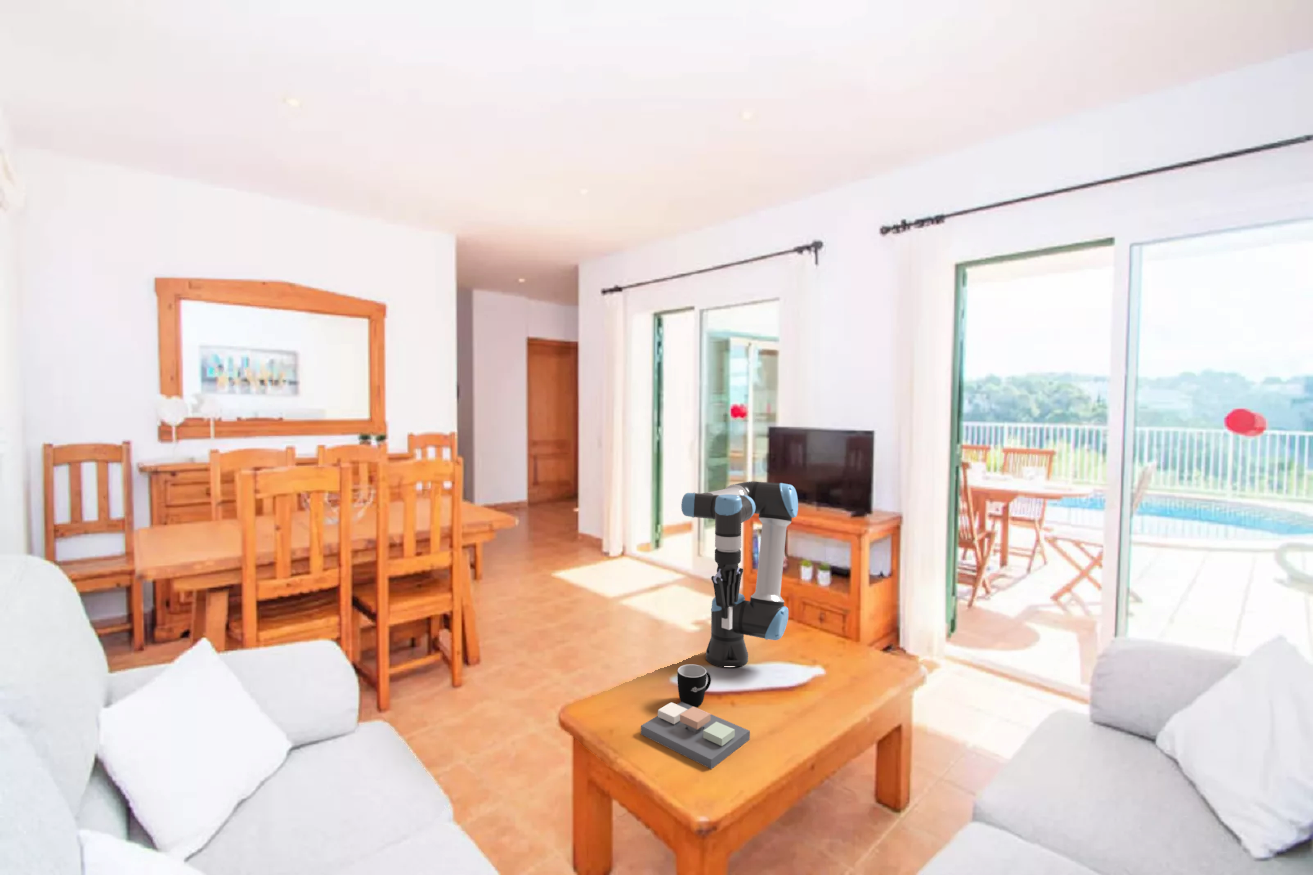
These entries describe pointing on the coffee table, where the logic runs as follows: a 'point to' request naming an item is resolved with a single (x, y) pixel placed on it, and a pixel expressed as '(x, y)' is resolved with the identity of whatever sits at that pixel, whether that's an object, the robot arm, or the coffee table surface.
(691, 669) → the mug
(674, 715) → the key ivory
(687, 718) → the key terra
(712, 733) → the key sage
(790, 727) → the coffee table surface
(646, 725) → the keypad base
